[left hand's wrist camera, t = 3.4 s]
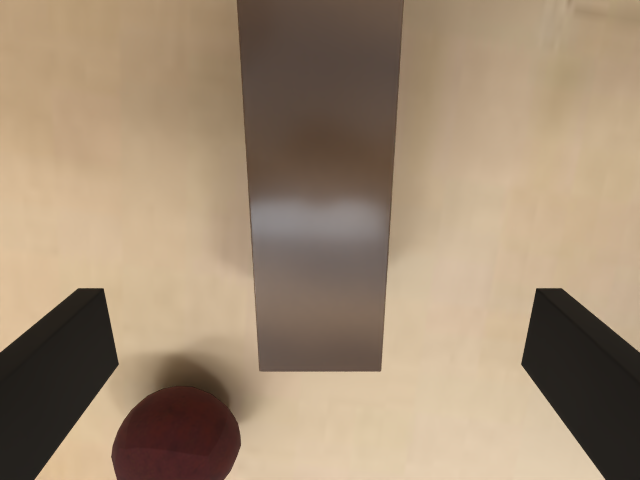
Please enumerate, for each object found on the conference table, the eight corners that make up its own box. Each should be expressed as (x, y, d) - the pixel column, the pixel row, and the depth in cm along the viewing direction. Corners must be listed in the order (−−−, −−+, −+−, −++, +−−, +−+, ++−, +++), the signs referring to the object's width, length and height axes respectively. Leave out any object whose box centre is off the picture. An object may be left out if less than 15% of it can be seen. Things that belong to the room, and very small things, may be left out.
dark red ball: (140, 357, 28) (86, 439, 22) (252, 371, 29) (232, 455, 22) (140, 439, 31) (92, 534, 24) (244, 450, 31) (223, 547, 25)
